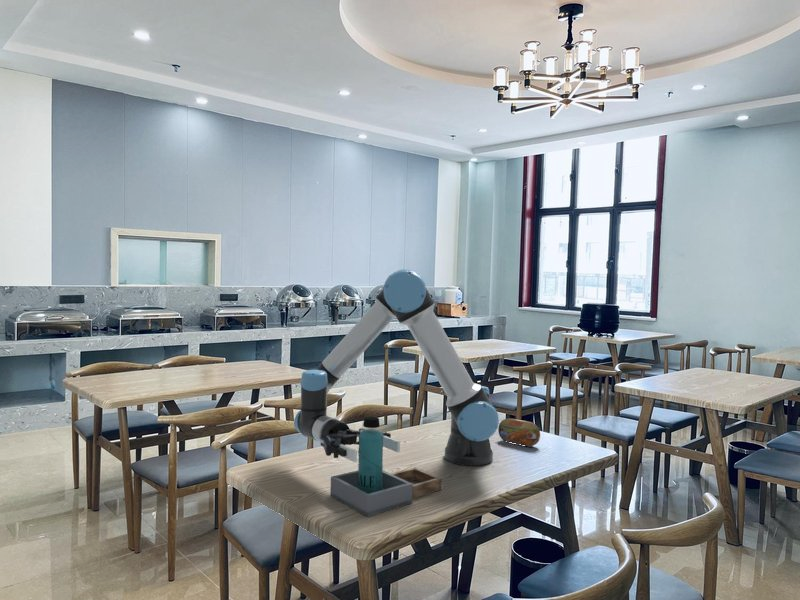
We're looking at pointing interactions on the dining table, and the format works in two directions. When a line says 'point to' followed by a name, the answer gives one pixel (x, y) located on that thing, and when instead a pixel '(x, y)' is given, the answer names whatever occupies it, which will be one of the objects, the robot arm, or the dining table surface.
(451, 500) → the dining table surface
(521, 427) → the tin
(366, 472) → the beverage bottle
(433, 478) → the box
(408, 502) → the tub
